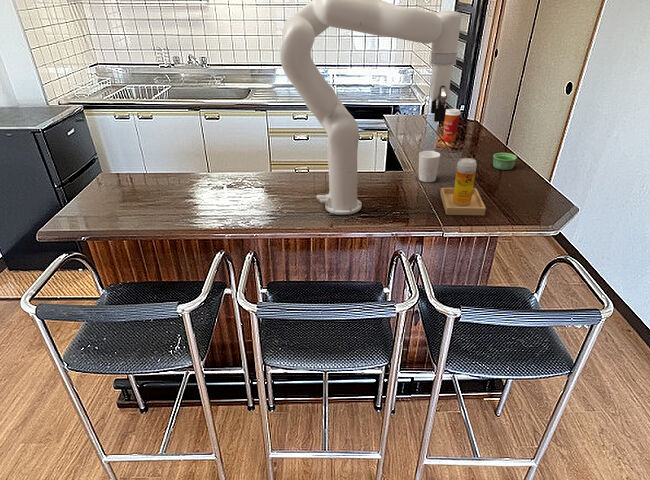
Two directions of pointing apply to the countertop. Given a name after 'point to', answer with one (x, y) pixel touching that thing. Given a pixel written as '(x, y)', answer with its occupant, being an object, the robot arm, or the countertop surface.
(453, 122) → the paper cup
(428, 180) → the white cup
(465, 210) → the tray
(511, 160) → the ramekin
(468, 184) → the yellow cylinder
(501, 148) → the countertop surface
